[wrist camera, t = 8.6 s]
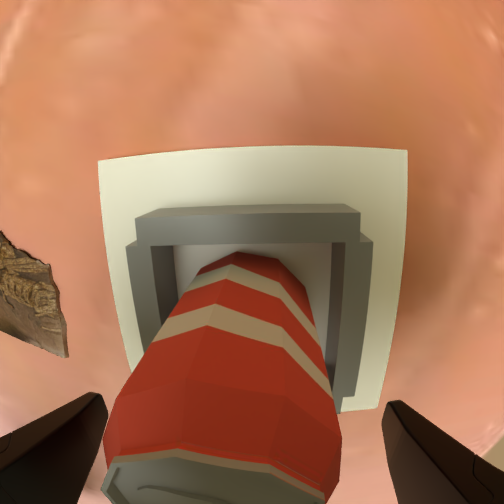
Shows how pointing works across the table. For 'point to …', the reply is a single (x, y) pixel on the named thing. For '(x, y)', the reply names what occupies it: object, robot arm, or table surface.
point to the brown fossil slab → (30, 301)
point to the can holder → (266, 241)
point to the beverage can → (228, 398)
